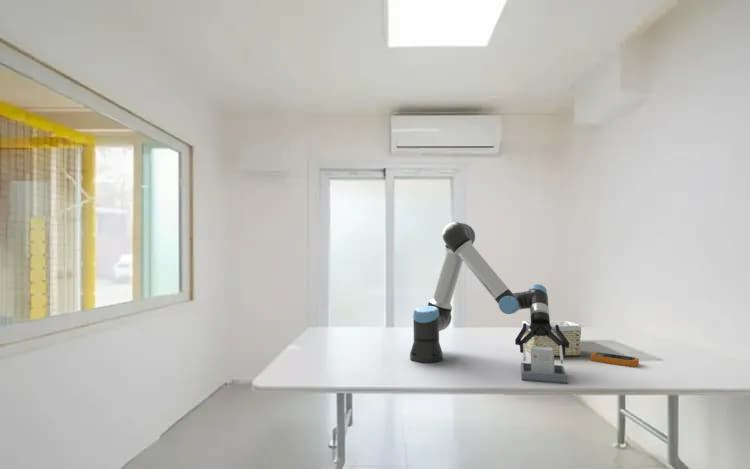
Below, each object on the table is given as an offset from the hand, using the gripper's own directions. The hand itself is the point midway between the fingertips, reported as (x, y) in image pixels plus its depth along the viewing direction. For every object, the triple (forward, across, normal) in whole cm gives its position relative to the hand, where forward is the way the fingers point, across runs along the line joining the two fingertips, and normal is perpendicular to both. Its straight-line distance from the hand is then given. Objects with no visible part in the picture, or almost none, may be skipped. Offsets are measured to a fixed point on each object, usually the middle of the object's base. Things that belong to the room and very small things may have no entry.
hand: (543, 360), depth 167 cm
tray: (+3, 0, -6) cm, 7 cm away
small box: (+3, 0, -6) cm, 7 cm away
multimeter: (-20, -32, -30) cm, 48 cm away
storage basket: (-28, -7, -38) cm, 48 cm away
